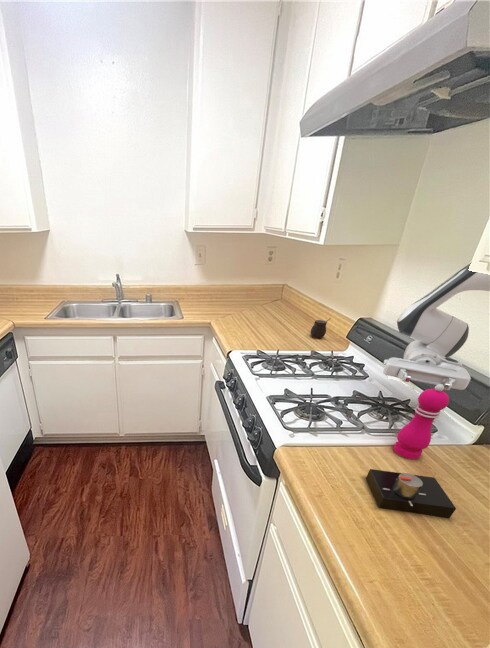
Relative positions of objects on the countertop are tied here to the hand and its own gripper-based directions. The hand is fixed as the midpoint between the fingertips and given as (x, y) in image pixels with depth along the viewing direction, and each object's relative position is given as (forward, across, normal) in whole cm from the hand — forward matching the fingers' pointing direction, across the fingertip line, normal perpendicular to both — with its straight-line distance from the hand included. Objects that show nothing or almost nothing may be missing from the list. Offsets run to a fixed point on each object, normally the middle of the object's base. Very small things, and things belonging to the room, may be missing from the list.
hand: (426, 383), depth 93 cm
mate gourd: (-80, -35, +16) cm, 88 cm away
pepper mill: (+12, 0, +16) cm, 20 cm away
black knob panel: (+32, -1, +15) cm, 36 cm away
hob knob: (+35, -2, +12) cm, 37 cm away
